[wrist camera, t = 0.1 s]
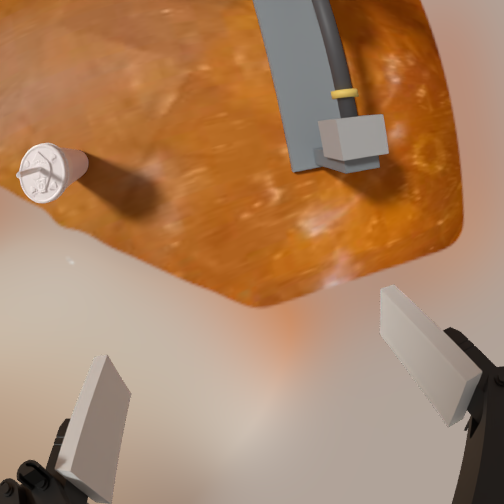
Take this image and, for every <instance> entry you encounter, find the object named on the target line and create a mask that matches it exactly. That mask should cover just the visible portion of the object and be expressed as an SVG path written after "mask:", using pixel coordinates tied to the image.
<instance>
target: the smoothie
mask: <svg viewBox="0 0 504 504" xmlns="http://www.w3.org/2000/svg"><path fill="white" fill-rule="evenodd" d="M87 169H88V158H87V156H86V154H85V153H84V152H82V151H80V150H75V149H68V148H61V147H58V146H56V145H54V144H51V143H42V144H39V145H36V146H34V147H32V148H31V149H30V150H28V152H27V153H26V154H25V156H24V157H23V159H22V162H21V165H20V172H17V174H16V176H17V178H20V183H21V186H22V189H23V191H24V192H25V194H26V195H27V196H28V197H29V198H30V199H31V200H33V201H35V202H37V203H47V202H51V201H53V200H56V199H57V198H58V197H59V196H61V195H62V193H63V192H64V191H65V189H66V188H67V187H68V186H69V185H71V184H72V183H73V182H74V181H76V180H77V179H78V178H80V177H81V176H83V175H84V174H85V173H86V171H87Z"/></svg>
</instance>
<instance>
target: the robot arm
mask: <svg viewBox="0 0 504 504" xmlns="http://www.w3.org/2000/svg"><path fill="white" fill-rule="evenodd" d="M380 335H381V337H382V338H383V339H384V340H385V342H386V343H387V345H388V346H389V347H390V348H391V350H392V351H393V352H394V354H395V355H396V356H397V358H398V359H399V360H400V362H401V363H402V364H403V366H404V367H405V368H406V370H407V371H408V372H409V374H410V375H411V376H412V378H413V379H414V381H415V382H416V383H417V384H418V386H419V387H420V389H421V390H422V392H423V393H424V394H425V396H426V397H427V398H428V400H429V401H430V403H431V404H432V406H433V407H434V408H435V410H436V411H437V413H438V414H439V415H440V417H441V418H442V420H443V421H444V423H445V424H446V426H447V427H450V426H452V425H453V424H455V423H457V422H458V421H460V420H462V419H463V417H464V415H465V413H466V411H467V410H468V412H469V413H470V414H471V417H470V419H469V421H468V423H467V425H466V427H465V431H466V430H467V429H468V434H467V440H466V446H465V451H464V457H463V462H462V466H461V470H460V475H459V479H458V483H457V487H456V490H455V494H454V498H453V501H452V504H504V367H496V366H495V365H494V364H493V363H492V362H491V361H490V360H489V359H488V358H487V357H486V356H485V355H484V354H483V353H482V352H481V351H480V350H479V349H478V348H477V347H476V346H474V344H473V343H472V342H470V341H468V338H467V337H465V336H464V335H463V334H462V333H461V332H460V331H458V330H456V329H453V328H451V327H450V328H447V329H445V330H441V328H440V327H438V326H437V325H436V324H435V323H434V322H433V321H432V320H431V319H430V318H429V317H428V316H427V315H426V314H425V313H424V312H423V311H422V310H421V309H420V308H419V307H418V306H417V305H416V304H415V303H414V302H413V301H411V300H410V299H409V298H408V297H407V296H406V295H405V294H404V293H403V292H402V291H401V290H400V289H399V288H397V287H396V286H395V285H394V284H393V285H390V286H387V287H384V288H381V289H380ZM130 397H131V392H130V391H129V389H128V388H127V386H126V385H125V383H124V382H123V380H122V378H121V377H120V375H119V373H118V372H117V370H116V368H115V367H114V365H113V363H112V362H111V360H110V358H109V356H108V355H102V356H95V357H94V359H93V362H92V364H91V367H90V369H89V371H88V374H87V376H86V379H85V381H84V384H83V387H82V389H81V392H80V394H79V397H78V400H77V402H76V405H75V408H74V411H73V413H72V416H71V419H65V421H64V422H63V423H62V425H61V426H60V427H59V430H58V433H57V438H56V439H55V442H54V446H53V448H52V451H51V454H50V457H49V460H48V463H47V466H46V469H44V468H43V467H42V466H41V465H40V464H39V463H38V462H36V461H34V460H28V461H26V462H24V463H23V464H22V465H21V466H20V467H19V469H18V472H17V480H18V481H19V482H21V483H22V484H21V485H19V484H18V483H17V482H16V481H15V480H13V479H10V478H9V479H5V480H3V481H2V482H1V483H0V504H88V503H87V499H88V497H90V498H91V499H92V500H94V501H95V502H99V503H108V504H111V503H112V497H113V489H114V483H115V476H116V470H117V464H118V458H119V452H120V446H121V441H122V436H123V430H124V426H125V421H126V416H127V411H128V406H129V402H130Z"/></svg>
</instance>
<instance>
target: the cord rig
mask: <svg viewBox="0 0 504 504" xmlns="http://www.w3.org/2000/svg"><path fill="white" fill-rule="evenodd" d="M253 3H254V7H255V11H256V14H257V18H258V22H259V26H260V29H261V33H262V37H263V41H264V45H265V49H266V53H267V57H268V61H269V65H270V69H271V74H272V78H273V82H274V87H275V91H276V95H277V100H278V104H279V109H280V114H281V118H282V123H283V128H284V133H285V137H286V142H287V147H288V152H289V157H290V163H291V168H292V172H297V171H302V170H307V169H312V168H318V167H323V166H324V167H327V168H330V169H333V170H336V171H340V172H343V173H352V172H357V171H363V170H368V169H374V168H380V164H379V156H378V155H382V154H389V151H388V143H387V136H386V129H385V123H384V117H383V114H379V115H364V116H358V115H357V110H356V105H355V99H354V97H358V96H359V95H358V90H357V89H352V85H351V80H350V76H349V71H348V67H347V63H346V59H345V55H344V51H343V47H342V43H341V39H340V36H339V32H338V29H337V25H336V22H335V18H334V15H333V12H332V8H331V5H330V2H329V0H253Z"/></svg>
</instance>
